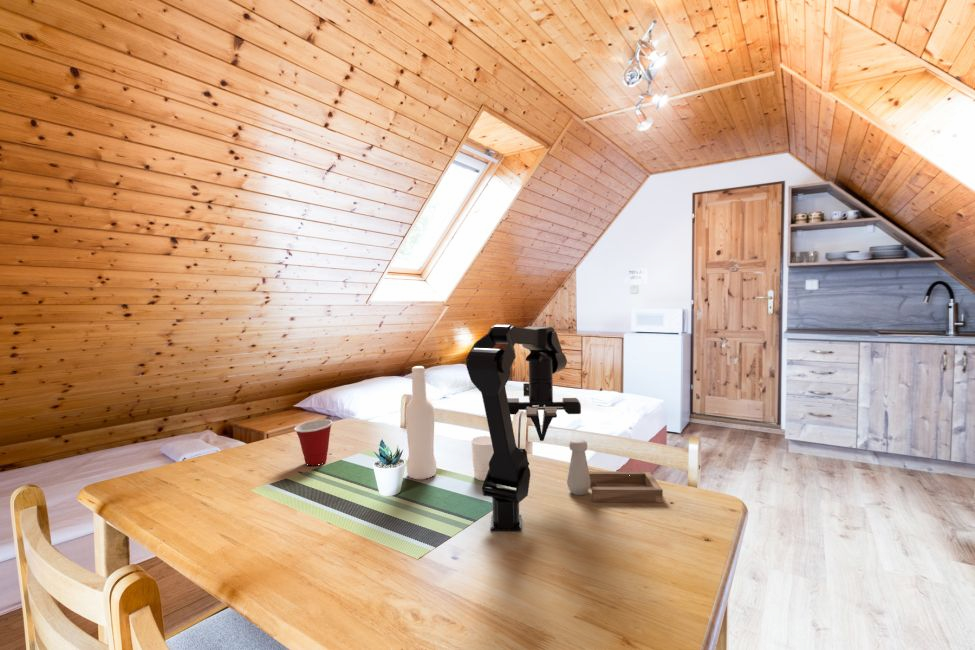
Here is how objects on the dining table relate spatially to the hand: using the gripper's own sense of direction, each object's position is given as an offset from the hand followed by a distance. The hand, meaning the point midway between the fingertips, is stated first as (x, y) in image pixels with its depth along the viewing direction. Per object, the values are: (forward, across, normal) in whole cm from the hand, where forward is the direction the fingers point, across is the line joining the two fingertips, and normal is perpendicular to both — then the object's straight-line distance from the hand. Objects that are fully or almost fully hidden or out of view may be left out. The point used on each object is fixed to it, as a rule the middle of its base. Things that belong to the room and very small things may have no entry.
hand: (541, 440), depth 120 cm
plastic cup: (+13, +67, -20) cm, 71 cm away
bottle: (+13, +33, -11) cm, 37 cm away
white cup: (+13, +15, -10) cm, 22 cm away
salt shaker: (+13, -9, 0) cm, 16 cm away
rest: (+13, -19, 0) cm, 23 cm away
